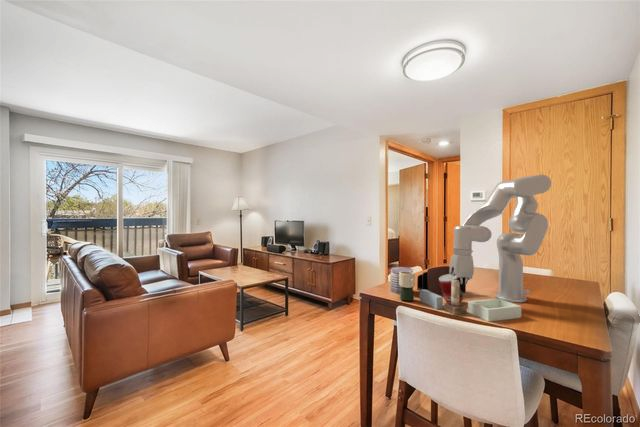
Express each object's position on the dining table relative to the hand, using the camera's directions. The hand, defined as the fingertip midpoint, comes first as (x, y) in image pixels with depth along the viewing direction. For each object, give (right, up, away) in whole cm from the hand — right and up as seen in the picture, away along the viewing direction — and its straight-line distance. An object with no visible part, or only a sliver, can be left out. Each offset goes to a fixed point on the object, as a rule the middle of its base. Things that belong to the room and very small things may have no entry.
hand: (461, 291), depth 127 cm
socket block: (-10, -5, -13) cm, 17 cm away
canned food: (-4, -4, -1) cm, 5 cm away
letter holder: (-3, -5, +17) cm, 18 cm away
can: (-23, -5, +16) cm, 28 cm away
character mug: (-25, -5, +2) cm, 25 cm away
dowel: (-10, -5, -13) cm, 17 cm away
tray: (+5, -5, -16) cm, 18 cm away
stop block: (-16, -5, -4) cm, 17 cm away
